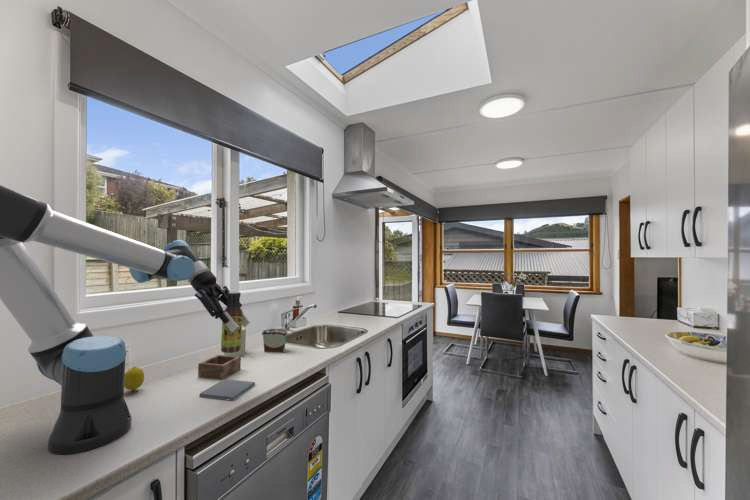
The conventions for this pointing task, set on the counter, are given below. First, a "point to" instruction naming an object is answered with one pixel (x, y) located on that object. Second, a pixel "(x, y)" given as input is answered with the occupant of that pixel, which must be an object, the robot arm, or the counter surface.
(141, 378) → the lemon
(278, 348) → the food container
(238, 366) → the walnut sleeve
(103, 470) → the counter surface
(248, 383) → the rubber mat
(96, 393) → the robot arm
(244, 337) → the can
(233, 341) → the sauce bottle
